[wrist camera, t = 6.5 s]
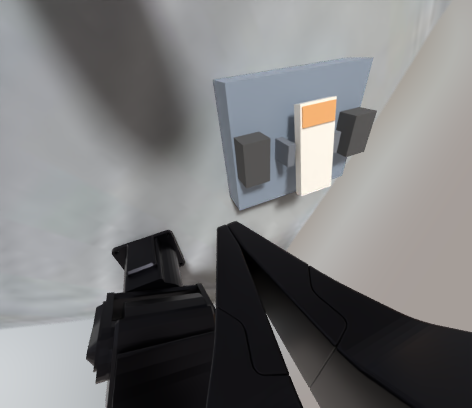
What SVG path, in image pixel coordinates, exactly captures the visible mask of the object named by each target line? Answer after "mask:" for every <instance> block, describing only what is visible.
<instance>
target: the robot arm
mask: <svg viewBox="0 0 472 408" xmlns="http://www.w3.org/2000/svg"><path fill="white" fill-rule="evenodd" d="M167 234H169V235H167ZM116 251H119V252H116ZM112 255H113V256H114V258H115V259H116V260H117V261H118V263H119V264H120V265H121V266H122V268H123V269H124V270H125V272H124V288H123V293H114V292H113V293H107V299H106V301H104V302H103V304H102V305H100V306H98V307H97V308H96V313H95V318H94V325H93V329H92V333H91V337H90V341H89V346H88V350H87V356H86V359H87V360H88V361H89V362H90V363H91V364H92V365H93V366H94V370H93V372H96V371H97V374H96V384H98V383H101V382H104V381H107V380H108V382H107V393H106V408H303V406H302V404H301V401H300V399H299V397H298V395H297V392H296V390H295V387H294V385H293V382H292V380H291V377H290V376H289V372H288V369H287V367H286V364H285V362H284V359H283V356H282V354H281V351H280V348H279V346H278V343H277V341H276V338H275V336H274V333H273V330H272V328H271V325H270V323H269V320H268V317H269V319H270V320H271V322H272V324H273V326H274V327H275V329H276V331H277V333H278V334H279V336H280V338H281V340H282V341H283V343H284V345H285V347H286V348H287V350H288V352H289V353H290V355H291V357H292V359H293V360H294V362H295V364H296V365H297V367H298V369H299V371H300V373H301V374H302V376H303V378H304V380H305V381H306V383H307V385H308V387H310V390H311V392H312V394H313V395H314V397H315V399H316V401H317V402H318V404H319V406H320V408H472V332H468V331H463V330H458V329H453V328H449V327H443V326H439V325H435V324H430V323H427V322H423V321H420V320H417V319H414V318H412V317H409V316H407V315H404V314H402V313H400V312H398V311H396V310H394V309H392V308H389V307H388V306H385V305H383V304H381V303H379V302H377V301H375V300H373V299H371V298H369V297H367V296H365V295H363V294H361V293H359V292H357V291H355V290H353V289H351V288H349V287H347V286H345V285H343V284H341V283H339V282H337V281H335V280H334V279H332V278H330V277H328V276H327V275H325V274H323V273H321V272H320V271H318V270H316V269H315V268H313V267H312V266H309V267H308V264H306V263H305V262H303V261H301V260H300V259H298V258H296V257H295V256H293V255H292V254H290V253H288V252H287V251H285V250H283V249H282V248H280V247H278V246H277V245H275V244H274V243H272V242H270V241H269V240H267V239H265V238H264V237H262V236H260V235H259V234H257V233H255V232H254V231H252V230H250V229H249V228H247V227H245V226H244V225H242V224H241V223H239V222H237V221H234V222H231V223H229V224H227V225H223V226H220V227H218V228H217V261H216V309H215V307H214V305H213V303H212V302H211V300H210V298H209V296H208V295H207V293H206V291H205V289H204V287H203V286H202V284H201V283H199V284H196V285H189V286H183V284H182V279H181V274H180V269H179V267H181V266H183V265H184V264H185V262H184V259H183V257H182V254H181V252H180V250H179V248H178V245H177V243H176V241H175V238H174V236H173V234H172V232H171V231H170V230H166V231H163V232H160V233H157V234H154V235H151V236H148V237H145V238H142V239H139V240H136V241H133V242H130V243H127V244H124V245H121V246H118V247H115V248H113V249H112ZM266 314H267V315H268V317H267V315H266Z"/></svg>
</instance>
